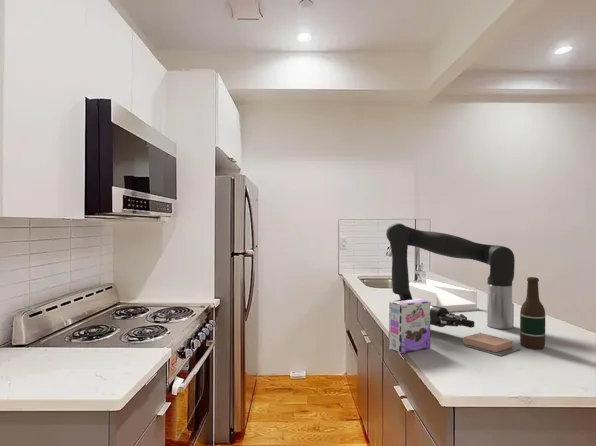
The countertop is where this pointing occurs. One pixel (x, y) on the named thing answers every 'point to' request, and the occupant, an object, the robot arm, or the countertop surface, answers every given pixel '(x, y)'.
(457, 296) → the building model
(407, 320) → the candy box
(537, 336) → the beer bottle
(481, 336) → the tile
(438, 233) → the robot arm
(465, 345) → the slate mat
